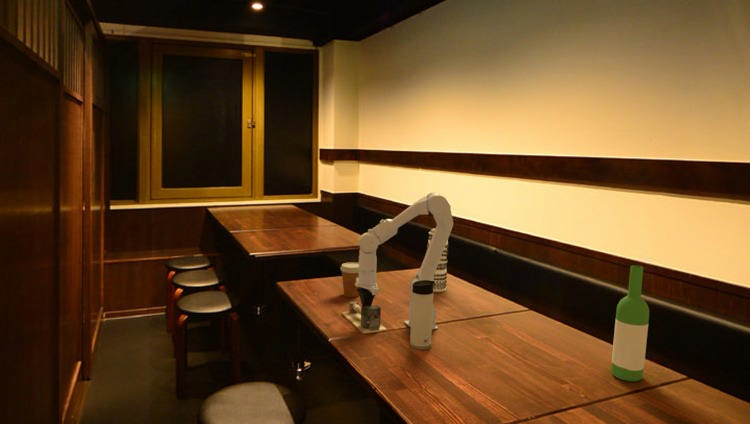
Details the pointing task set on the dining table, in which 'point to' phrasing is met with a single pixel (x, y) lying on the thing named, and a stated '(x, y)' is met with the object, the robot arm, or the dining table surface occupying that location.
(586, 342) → the dining table surface
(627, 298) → the wine bottle
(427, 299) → the travel mug
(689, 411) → the dining table surface
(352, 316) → the pipe stand
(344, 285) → the disposable coffee cup
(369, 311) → the grey notched block
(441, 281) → the decorative candle
